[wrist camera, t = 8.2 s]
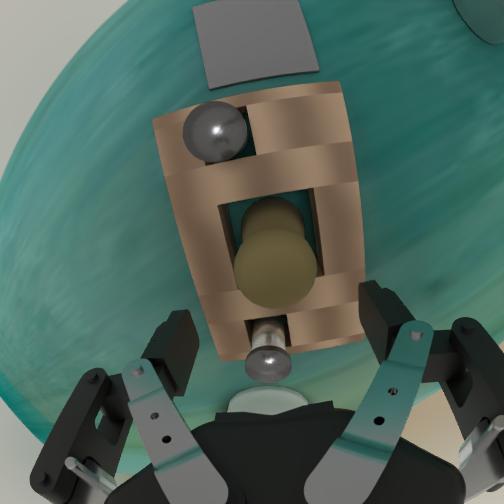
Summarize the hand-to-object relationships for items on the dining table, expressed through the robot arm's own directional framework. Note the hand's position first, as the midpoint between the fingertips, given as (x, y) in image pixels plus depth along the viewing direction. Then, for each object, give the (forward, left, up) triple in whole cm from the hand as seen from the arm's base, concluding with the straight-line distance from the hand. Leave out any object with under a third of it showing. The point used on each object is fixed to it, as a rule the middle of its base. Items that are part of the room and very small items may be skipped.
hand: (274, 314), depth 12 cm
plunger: (+2, -9, -14) cm, 16 cm away
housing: (0, 0, -15) cm, 15 cm away
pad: (-2, -19, -15) cm, 24 cm away
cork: (0, 0, -15) cm, 15 cm away
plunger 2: (+2, +9, -14) cm, 17 cm away
